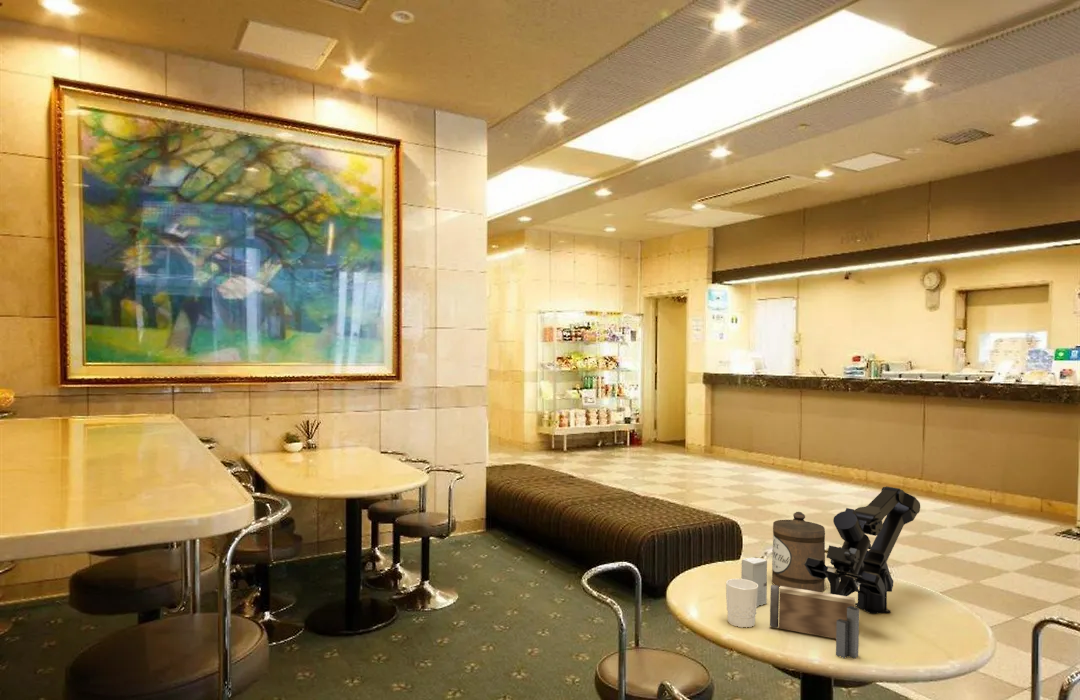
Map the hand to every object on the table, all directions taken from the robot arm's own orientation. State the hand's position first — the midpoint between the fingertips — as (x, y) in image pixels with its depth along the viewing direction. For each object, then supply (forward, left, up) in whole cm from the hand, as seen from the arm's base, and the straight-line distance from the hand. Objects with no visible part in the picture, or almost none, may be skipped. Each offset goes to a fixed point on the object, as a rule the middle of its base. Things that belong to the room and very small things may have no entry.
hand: (832, 604), depth 165 cm
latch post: (+5, +13, -7) cm, 16 cm away
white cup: (+20, -8, -7) cm, 23 cm away
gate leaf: (+7, +1, -6) cm, 9 cm away
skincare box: (+10, -20, -7) cm, 23 cm away
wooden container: (-11, -32, -7) cm, 34 cm away
